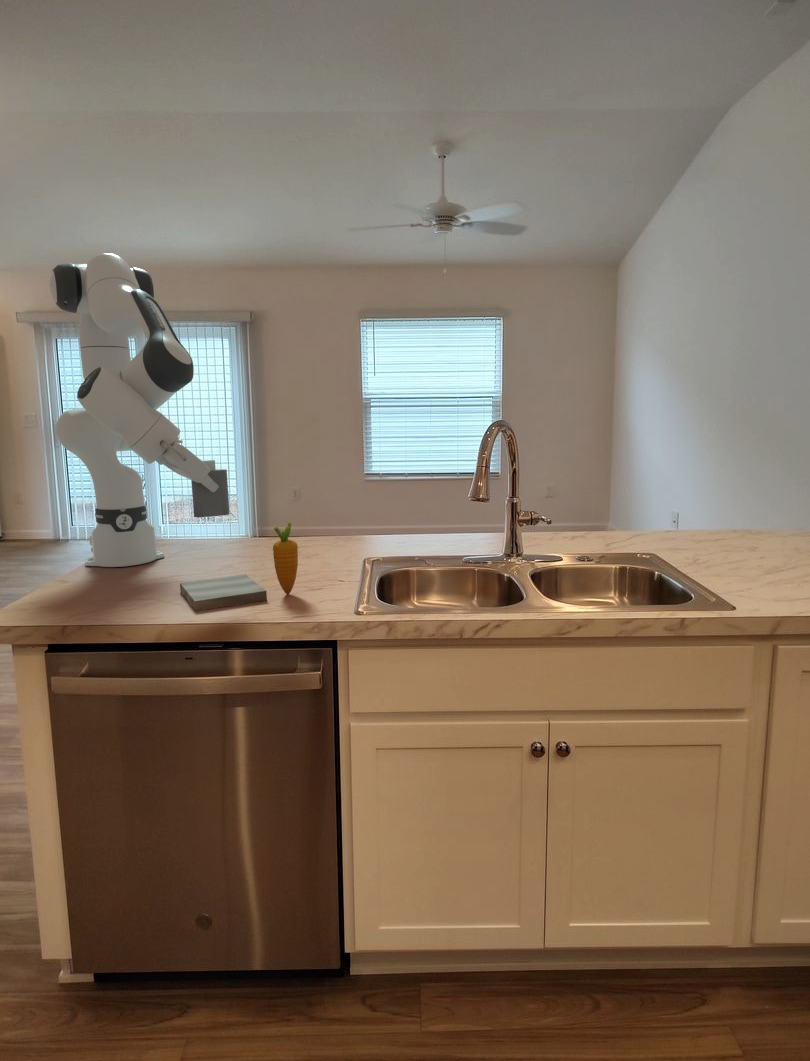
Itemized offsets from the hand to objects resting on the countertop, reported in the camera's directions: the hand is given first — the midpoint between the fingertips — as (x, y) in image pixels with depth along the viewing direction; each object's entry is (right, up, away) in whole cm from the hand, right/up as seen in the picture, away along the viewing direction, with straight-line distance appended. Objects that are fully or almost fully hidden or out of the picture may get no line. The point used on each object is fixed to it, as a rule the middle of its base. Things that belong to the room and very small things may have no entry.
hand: (213, 488), depth 134 cm
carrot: (+14, -22, +4) cm, 26 cm away
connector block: (0, -5, +1) cm, 5 cm away
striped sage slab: (+1, -22, +4) cm, 22 cm away
